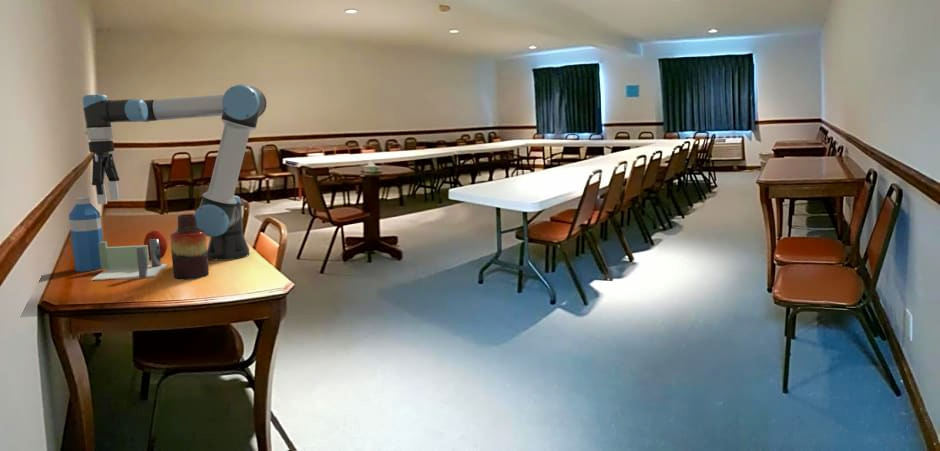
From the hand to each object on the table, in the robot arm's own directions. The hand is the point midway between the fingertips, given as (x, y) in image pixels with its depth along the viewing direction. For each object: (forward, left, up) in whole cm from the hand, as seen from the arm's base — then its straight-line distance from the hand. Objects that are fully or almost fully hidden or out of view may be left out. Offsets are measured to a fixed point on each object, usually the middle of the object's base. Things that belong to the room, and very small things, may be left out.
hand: (108, 201), depth 228 cm
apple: (-10, -16, -24) cm, 30 cm away
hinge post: (-15, +4, -23) cm, 28 cm away
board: (-8, +11, -23) cm, 27 cm away
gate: (-5, +4, -22) cm, 23 cm away
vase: (-29, +21, -24) cm, 43 cm away
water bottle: (+8, -1, -24) cm, 25 cm away
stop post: (-14, +19, -23) cm, 33 cm away
